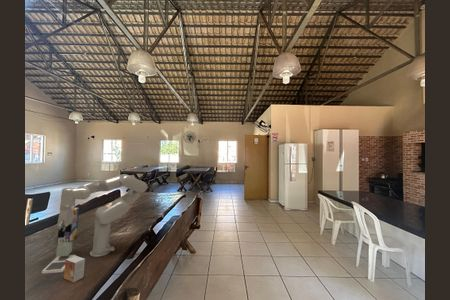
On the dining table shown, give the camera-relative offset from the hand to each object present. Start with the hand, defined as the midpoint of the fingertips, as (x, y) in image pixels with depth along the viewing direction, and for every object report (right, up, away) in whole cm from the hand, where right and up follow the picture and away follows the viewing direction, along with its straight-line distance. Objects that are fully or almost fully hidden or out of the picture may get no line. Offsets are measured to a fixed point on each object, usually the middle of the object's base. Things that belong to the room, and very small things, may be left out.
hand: (64, 234), depth 131 cm
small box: (+18, -18, -17) cm, 30 cm away
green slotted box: (0, -12, 0) cm, 12 cm away
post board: (+1, -17, -5) cm, 17 cm away
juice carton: (-20, -17, +28) cm, 39 cm away
